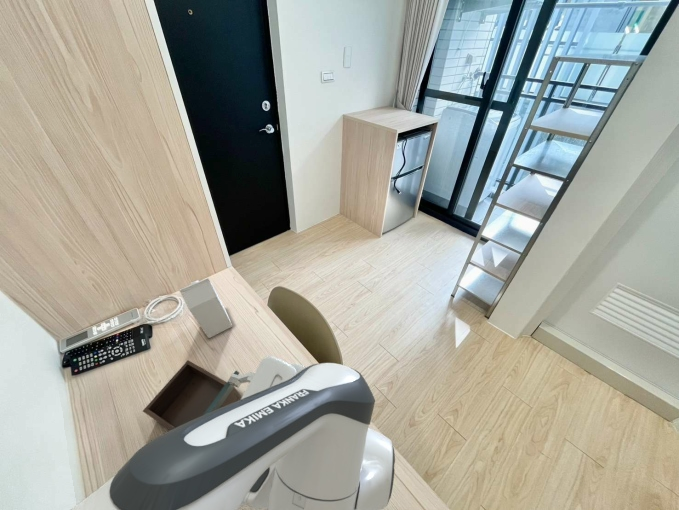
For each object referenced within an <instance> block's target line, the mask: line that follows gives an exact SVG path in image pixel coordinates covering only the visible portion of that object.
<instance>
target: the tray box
mask: <svg viewBox="0 0 679 510" xmlns="http://www.w3.org/2000/svg"><path fill="white" fill-rule="evenodd" d="M227 382H228V381H225V380H224V379H222V378H220V377H218V376H217V375H215V374H214V373H211V372H210V371H209V370H206V369H204V368H203V367H201V366H200V365H197V364H196V363H194V362H193V361H191V360H189V359H188V360H186V362H185V363H184V364H183V365H182V366H181V367H180V368H179V369H178V370H177V372H176V373H175V374H174V375H173V376H172V378H170V379H169V380H168V382H167V383H166V384H165V385H164V386H163V387H162V389H161V390H160V391H159V392H158V393H157V394H156V395H155V397H153V398H152V400H151V401H149V403H148V404H147V405H146V406H145V408H143V410H142V412H143V413H144V414H146V415H147V416H149V418H152V419H153V420H155V421H156V422H157V423H158V424H160V425H162V426H163V427H165V429H167V430H168V431H170V430H172V429H174V428H176V427H179V426H181V425H183V424H185V423H187V422H189V421H192V420H194V419H196V418H198V417H201V416H202V415H203V414H204V413H205V411H206V410H207V409H208V407H209V406H210V405H211V403H212V402H213V401H214V399H215V398H216V397H217V395H218V394H219V392H220V391H221V390H222V388H223V387H224V386H225V384H226V383H227ZM241 398H242V394H240V393H239V391H238V390H237V388H236V387H234V388H233V390H232V391H231V392H230V394H229V395H228V397H227V398H226V399H225V401H224V402H223V404H222V405H221V406H220V408H222V407H224V406H226V405H229V404H231V403H234V402H236V401H238V400H241Z"/></svg>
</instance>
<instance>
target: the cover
mask: <svg viewBox="0 0 679 510" xmlns="http://www.w3.org/2000/svg"><path fill="white" fill-rule="evenodd" d="M233 374H235V375H239V376H240V371H238V370H234V372H233ZM226 382H227V383H226V384H225V386H224V387H223V388H222V390H221V391H220V392H219V394H218V395H217V397H216V398H215V399H214V401H213V402H212V403H211V405H210V406H209V407H208V409H207V410H206V411H205V413H204V414H203V415H205V414H208V413H210V412H212V411H215V410H217V409H219V408H220V406H221V405H222V404H223V402H224V401H225V399H226V398H227V397H228V395H229V394H230V392H231V391H232V390H233V388H234V387H235V386H232V385H230V384H229V383H228V381H226ZM235 388H236V387H235ZM203 415H202V416H203Z"/></svg>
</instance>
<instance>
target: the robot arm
mask: <svg viewBox="0 0 679 510" xmlns="http://www.w3.org/2000/svg"><path fill="white" fill-rule="evenodd" d="M227 382H228V383H229V384H230V385H232V386H235V388H238V389H239V388H240V387H241V385H242V384H245V383H248V385H247V387H246V389H245V391H244V392H243V394H242V395H241V397H240V399H239V400H238V401H236V402H234V403H231V404H229V405H226V406H224V407H222V408H219V409H217V410H215V411H212V412H210V413H208V414H205V415H203V416H201V417H198V418H196V419H194V420H192V421H189V422H187V423H185V424H183V425H181V426H179V427H176V428H174V429H172V430H168V431H166V432H164V433H163V434H161V435H158V436H157V437H155V438H154V439H152V440H150V441H148V442H147V443H146V444H144V445H143V446H142V447H140V448H139V449H138V450H137V451H136V452H135V453H134V454H133V455H132V456H131V457H130V458H129V460H128V461H126V463H124V465H122V467H121V468H120V469H119V470H118V471H117V472H116V474H115V475H113V476H112V477H110V479H108V480H107V481H106V482H105V483H104V484H102V485H101V486H100V487H98V488H97V489H96V490H95V491H93V492H92V493H91V494H89V496H87V497H85V499H83V500H81V501H80V502H78V503H76V505H75V506H73V507H71V508H70V509H69V510H239V509H240V507H245V506H246V505H248V506H249V507H250V508H253V509H257V510H263V509H267V510H385V509H386V508H387V506H388V505H389V502H390V499H391V497H392V494H393V487H394V479H395V471H396V470H395V463H396V456H395V448H394V445H393V442H392V439H390V438H389V437H387V436H385V435H384V434H382V433H381V432H379V431H377V430H375V429H373V428H371V427H369V425H371V421H372V416H373V412H374V408H375V405H376V399H375V396H374V394H373V391H372V390H371V387H370V386H369V384H368V382H367V381H366V379H365V378H364V376H363V375H362V374H361V372H360V371H358V370H356V369H354V368H352V367H349V366H347V365H344V364H341V363H335V362H322V363H320V362H319V363H314V364H311V365H309V366H307V367H306V366H304V365H303V364H299V363H289V362H287V361H285V360H283V359H281V358H278V357H276V356H272V355H268V356H265V357H263V358H262V359H261V361H260V363H259V364H258V367H257V368H256V371H255V372H253V371H249V372H245V373H243V374H239V375H235V374H234V373H231V375H230V376H229V378H228V380H227Z"/></svg>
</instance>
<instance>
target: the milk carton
mask: <svg viewBox="0 0 679 510" xmlns="http://www.w3.org/2000/svg"><path fill="white" fill-rule="evenodd" d="M178 291H179V292H180V294H181V297H182V298H183V300H184V303H185V305H186V307H187V309H188V311H189V312H190V313H191V315H192V316H193V318H194V319H195V321H196V322H197V324H198V325H199V326H200V328H201V330H202V331H203V333H204V334H205V335H206V337H207V338H208V339H210V338H212V337H215V336H217V335H218V334H220V333H222V332H224V331H226V330H229V329H230V328H232V327H233V324H232V321H231V319H230V317H229V315H228V313H227V310H226V308H225V306H224V304H223V302H222V300H221V298H220V297H219V295H218V293H217V291H216V288H215V287H214V285H213V283H212V282H211V279H209V277H206V278H204V279H202V280H200V281H199V279H197V280H194V281H192V282H190V283H189V285H187V286H184V287H182V288H180V289H178Z"/></svg>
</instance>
